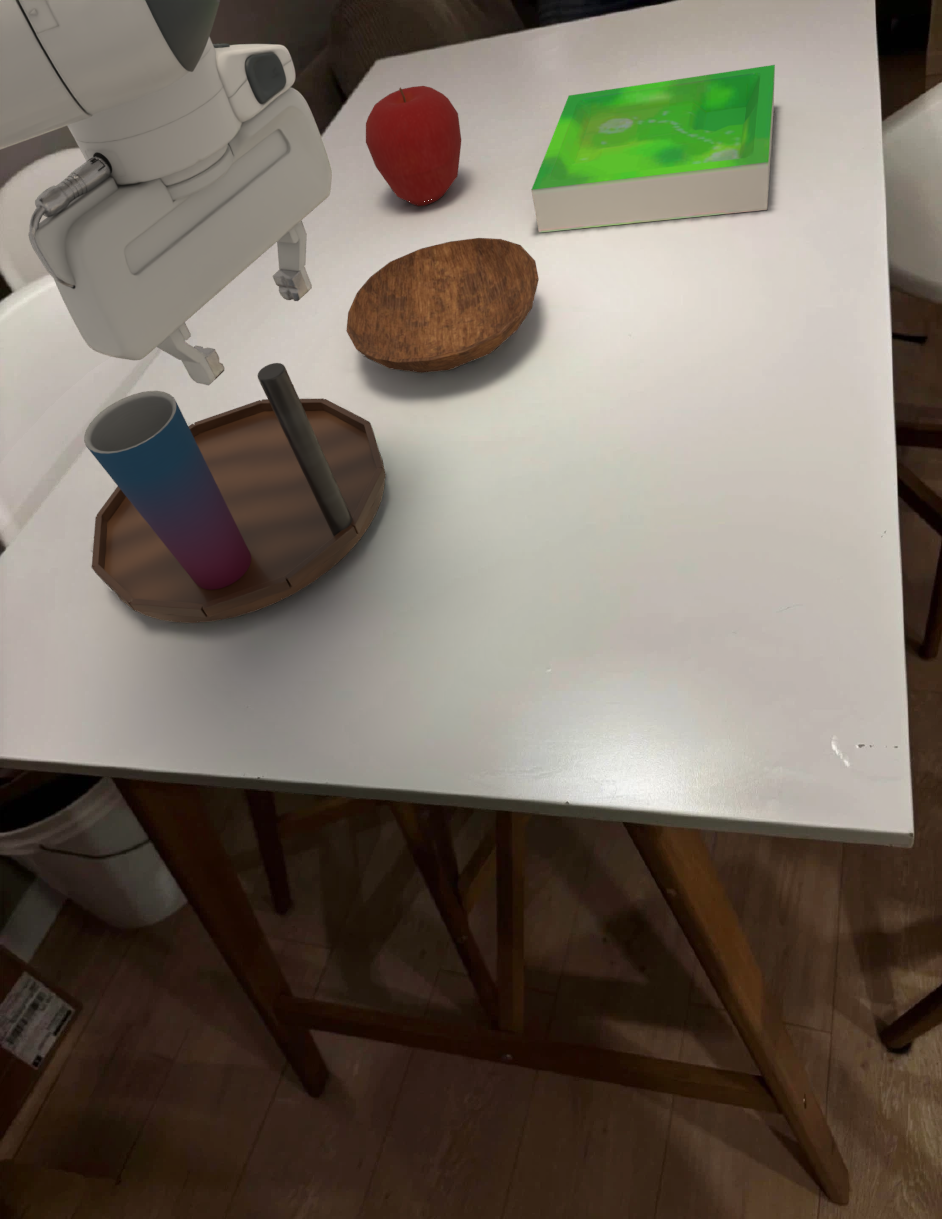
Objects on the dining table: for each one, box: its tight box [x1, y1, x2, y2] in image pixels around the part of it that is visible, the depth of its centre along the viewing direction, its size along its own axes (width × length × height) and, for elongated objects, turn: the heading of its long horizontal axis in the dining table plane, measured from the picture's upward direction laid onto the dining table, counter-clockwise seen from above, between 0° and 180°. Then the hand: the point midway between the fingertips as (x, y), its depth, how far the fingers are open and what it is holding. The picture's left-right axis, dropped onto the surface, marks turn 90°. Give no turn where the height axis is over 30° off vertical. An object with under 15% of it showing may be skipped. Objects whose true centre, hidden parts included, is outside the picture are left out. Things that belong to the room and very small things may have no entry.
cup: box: [83, 390, 251, 590], centre depth 67 cm, size 7×7×15 cm
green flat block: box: [531, 64, 776, 234], centre depth 104 cm, size 25×25×5 cm
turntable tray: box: [91, 362, 387, 624], centre depth 73 cm, size 26×26×16 cm
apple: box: [365, 85, 462, 207], centre depth 110 cm, size 12×12×13 cm
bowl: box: [345, 237, 540, 374], centre depth 90 cm, size 20×22×5 cm
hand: (255, 334), depth 59 cm, fingers open, 8 cm apart
